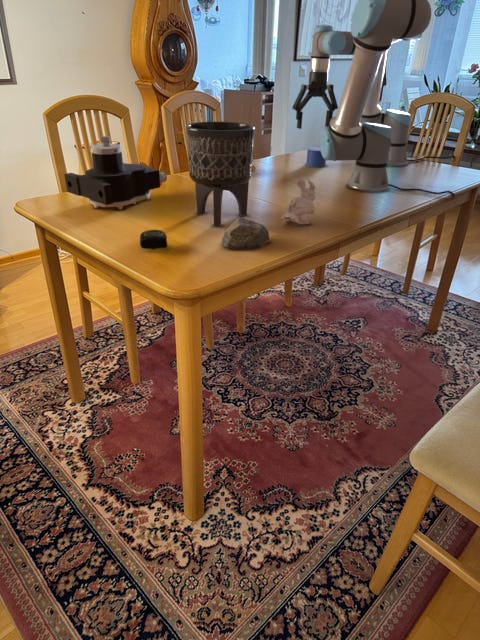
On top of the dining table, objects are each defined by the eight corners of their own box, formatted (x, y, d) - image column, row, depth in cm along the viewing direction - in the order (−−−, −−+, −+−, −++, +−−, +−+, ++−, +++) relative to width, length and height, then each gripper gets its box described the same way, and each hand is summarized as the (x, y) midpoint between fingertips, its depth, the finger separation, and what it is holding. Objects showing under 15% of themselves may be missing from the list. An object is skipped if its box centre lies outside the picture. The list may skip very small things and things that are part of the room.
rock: (255, 233, 128) (256, 211, 124) (276, 242, 122) (278, 219, 119) (217, 244, 120) (217, 220, 117) (239, 254, 115) (239, 230, 111)
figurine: (321, 218, 142) (325, 177, 135) (298, 231, 131) (302, 187, 125) (298, 213, 146) (301, 173, 139) (274, 225, 135) (277, 182, 128)
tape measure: (140, 252, 115) (139, 238, 113) (141, 242, 120) (140, 229, 119) (167, 251, 116) (166, 237, 114) (167, 241, 121) (166, 228, 120)
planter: (175, 218, 139) (170, 125, 125) (214, 204, 153) (213, 119, 139) (227, 232, 129) (227, 132, 116) (263, 215, 143) (268, 125, 130)
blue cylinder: (318, 168, 208) (319, 151, 204) (302, 165, 213) (303, 148, 209) (329, 165, 213) (331, 149, 210) (313, 162, 219) (315, 146, 215)
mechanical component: (57, 135, 140) (135, 127, 160) (69, 203, 151) (140, 187, 171) (98, 144, 128) (177, 134, 148) (107, 217, 139) (180, 198, 159)
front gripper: (341, 70, 189) (334, 125, 200) (286, 70, 181) (283, 127, 192) (350, 71, 183) (343, 128, 194) (295, 71, 175) (290, 130, 186)
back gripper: (362, 53, 239) (356, 97, 250) (384, 53, 218) (376, 101, 229) (375, 53, 241) (368, 97, 252) (398, 53, 220) (390, 101, 230)
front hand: (313, 127), depth 193 cm, fingers open, 13 cm apart
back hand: (372, 99), depth 240 cm, fingers open, 13 cm apart
